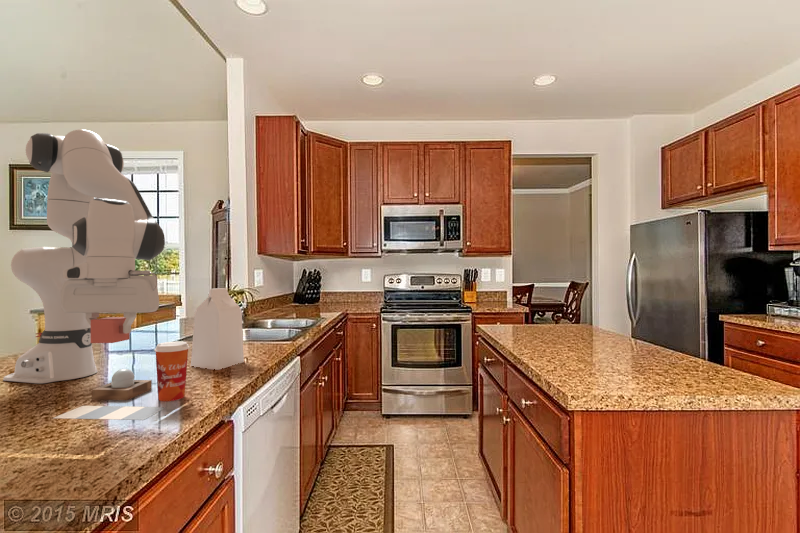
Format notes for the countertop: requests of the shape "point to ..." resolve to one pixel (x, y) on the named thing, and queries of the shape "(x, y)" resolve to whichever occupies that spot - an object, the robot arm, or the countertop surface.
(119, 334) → the red block
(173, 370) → the paper cup
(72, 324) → the robot arm
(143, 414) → the track
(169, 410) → the countertop surface
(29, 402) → the countertop surface
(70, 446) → the countertop surface
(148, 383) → the button box
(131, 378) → the dome
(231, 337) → the milk
